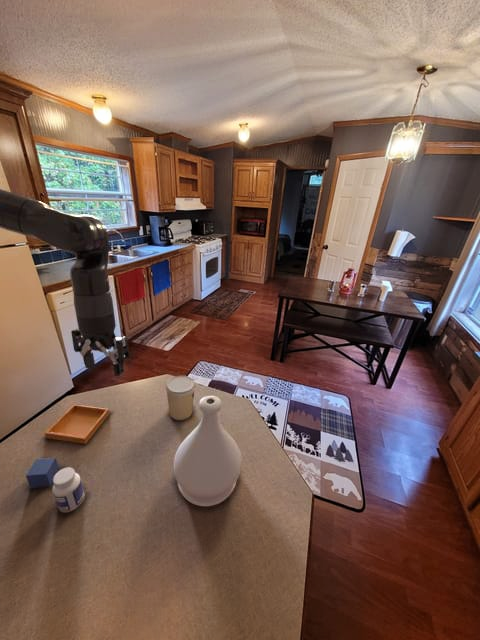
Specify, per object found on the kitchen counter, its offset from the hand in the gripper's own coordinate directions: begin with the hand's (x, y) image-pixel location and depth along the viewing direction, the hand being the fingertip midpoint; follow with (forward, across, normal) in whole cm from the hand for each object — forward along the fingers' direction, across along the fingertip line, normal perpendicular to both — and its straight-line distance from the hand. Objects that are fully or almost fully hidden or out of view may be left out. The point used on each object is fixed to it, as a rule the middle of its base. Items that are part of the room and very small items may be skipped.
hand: (104, 370), depth 63 cm
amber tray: (+26, -16, +3) cm, 30 cm away
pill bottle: (+26, +1, -16) cm, 31 cm away
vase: (+26, +28, 0) cm, 39 cm away
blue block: (+26, -10, -14) cm, 31 cm away
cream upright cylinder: (+26, +11, +19) cm, 34 cm away
